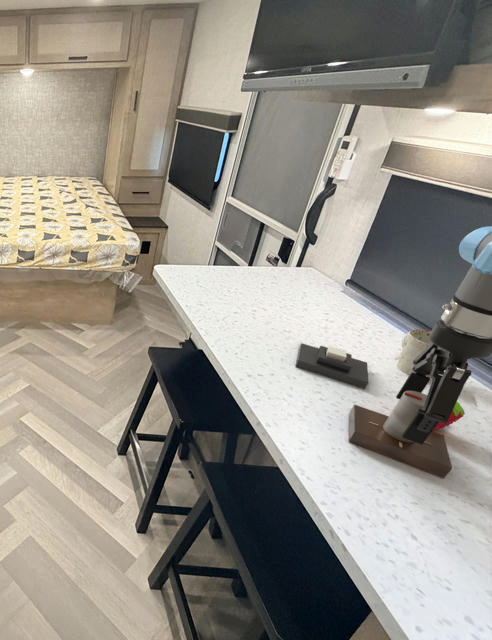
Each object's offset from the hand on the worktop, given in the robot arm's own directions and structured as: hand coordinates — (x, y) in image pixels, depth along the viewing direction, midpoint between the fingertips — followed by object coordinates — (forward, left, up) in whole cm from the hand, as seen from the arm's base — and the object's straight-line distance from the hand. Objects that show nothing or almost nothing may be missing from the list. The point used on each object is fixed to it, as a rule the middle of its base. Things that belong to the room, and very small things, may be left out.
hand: (408, 418), depth 78 cm
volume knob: (0, 0, -4) cm, 4 cm away
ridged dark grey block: (+11, -23, -7) cm, 26 cm away
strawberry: (-6, -11, -7) cm, 14 cm away
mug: (-5, -37, -7) cm, 38 cm away
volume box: (0, 0, -7) cm, 7 cm away
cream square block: (+11, -23, -3) cm, 26 cm away
